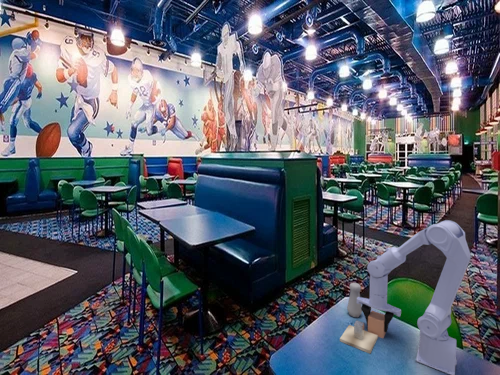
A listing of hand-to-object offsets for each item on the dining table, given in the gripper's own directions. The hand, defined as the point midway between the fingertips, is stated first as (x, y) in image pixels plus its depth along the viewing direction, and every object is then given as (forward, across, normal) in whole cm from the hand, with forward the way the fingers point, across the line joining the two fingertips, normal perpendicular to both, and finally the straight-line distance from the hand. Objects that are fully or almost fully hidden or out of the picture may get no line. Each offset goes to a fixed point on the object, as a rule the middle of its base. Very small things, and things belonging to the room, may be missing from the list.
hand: (377, 327), depth 95 cm
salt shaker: (+2, +10, -6) cm, 12 cm away
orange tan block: (+2, 0, 0) cm, 2 cm away
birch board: (+2, +4, +8) cm, 10 cm away
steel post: (+2, +4, +8) cm, 10 cm away
